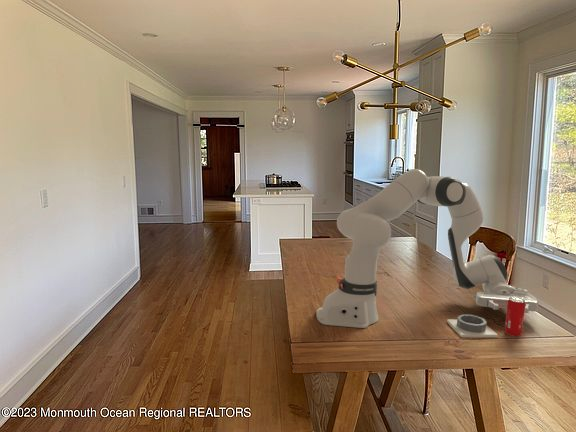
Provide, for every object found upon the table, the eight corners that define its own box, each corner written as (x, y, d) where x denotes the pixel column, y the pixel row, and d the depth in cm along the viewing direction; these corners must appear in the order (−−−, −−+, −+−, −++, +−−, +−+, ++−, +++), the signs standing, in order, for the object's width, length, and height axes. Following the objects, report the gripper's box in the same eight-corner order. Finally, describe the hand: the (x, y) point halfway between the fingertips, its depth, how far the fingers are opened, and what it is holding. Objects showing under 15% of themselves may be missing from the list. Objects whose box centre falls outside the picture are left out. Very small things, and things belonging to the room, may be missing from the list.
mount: (461, 337, 139) (462, 327, 138) (446, 322, 150) (447, 312, 150) (497, 337, 139) (498, 327, 138) (480, 322, 151) (480, 312, 150)
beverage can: (506, 328, 146) (510, 295, 144) (523, 333, 142) (527, 299, 140) (502, 333, 142) (506, 299, 140) (520, 338, 138) (524, 303, 136)
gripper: (472, 285, 160) (479, 297, 147) (531, 290, 155) (544, 303, 142) (470, 300, 161) (478, 314, 148) (529, 306, 156) (542, 321, 143)
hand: (511, 309), depth 145 cm, fingers open, 8 cm apart
